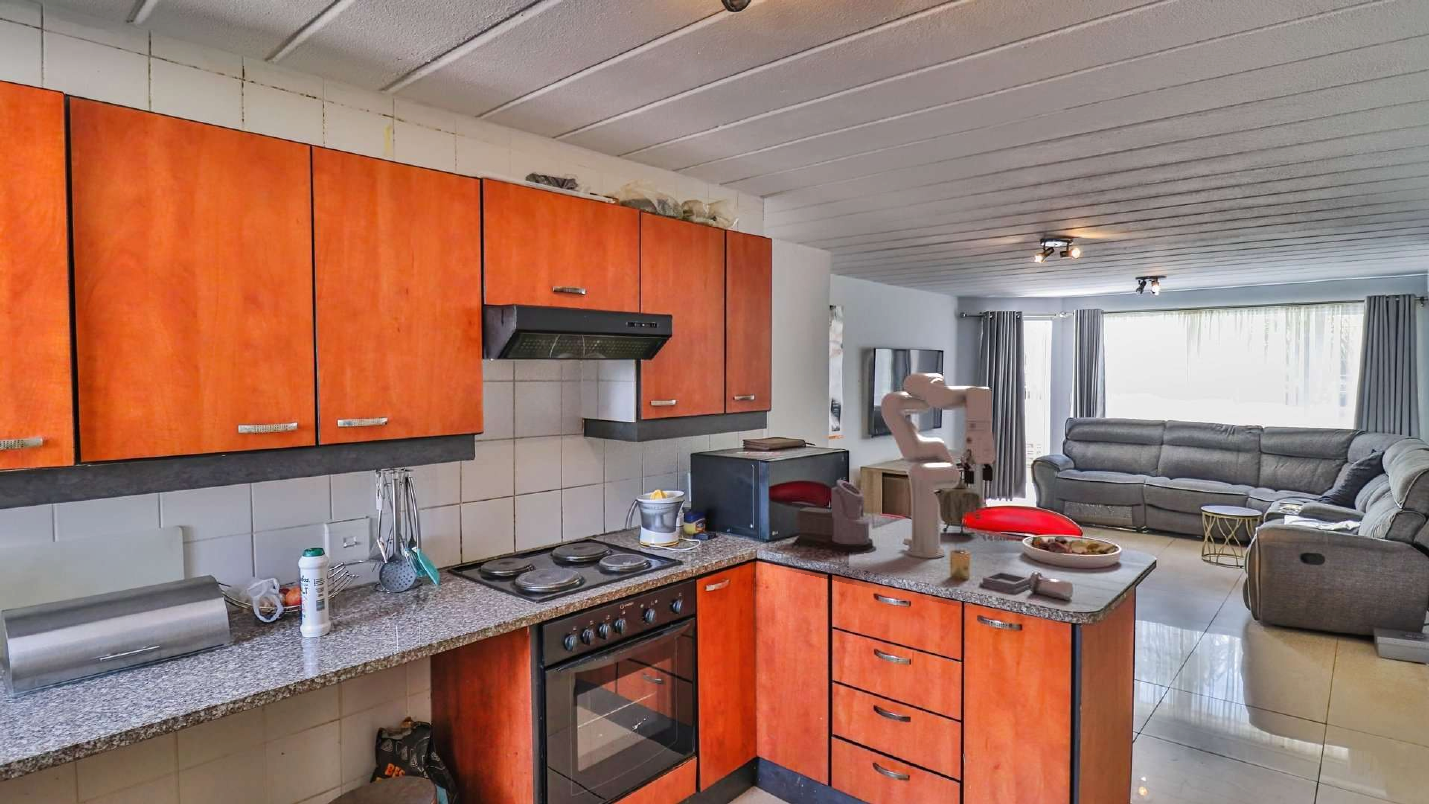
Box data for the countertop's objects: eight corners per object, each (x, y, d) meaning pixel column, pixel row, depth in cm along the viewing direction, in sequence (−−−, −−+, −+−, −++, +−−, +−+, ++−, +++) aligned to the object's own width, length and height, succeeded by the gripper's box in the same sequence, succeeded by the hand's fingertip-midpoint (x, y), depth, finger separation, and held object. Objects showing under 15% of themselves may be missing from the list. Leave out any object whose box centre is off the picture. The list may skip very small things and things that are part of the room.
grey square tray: (979, 586, 218) (979, 577, 218) (998, 578, 225) (998, 570, 225) (1015, 594, 209) (1015, 585, 209) (1034, 586, 216) (1034, 578, 216)
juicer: (882, 546, 269) (882, 479, 268) (867, 556, 255) (866, 485, 254) (807, 537, 285) (806, 474, 284) (788, 546, 271) (788, 479, 270)
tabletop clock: (976, 531, 291) (977, 468, 290) (983, 536, 282) (983, 471, 281) (939, 531, 292) (939, 468, 291) (944, 536, 283) (944, 471, 282)
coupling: (946, 578, 227) (946, 551, 226) (956, 574, 230) (956, 548, 230) (963, 581, 222) (963, 555, 222) (973, 578, 226) (973, 551, 226)
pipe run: (1028, 594, 209) (1028, 573, 209) (1038, 590, 213) (1038, 570, 213) (1064, 602, 201) (1064, 581, 201) (1073, 597, 205) (1073, 577, 205)
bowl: (1041, 544, 270) (1041, 523, 269) (1133, 558, 249) (1133, 534, 248) (1007, 560, 248) (1007, 537, 248) (1105, 576, 227) (1105, 551, 227)
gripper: (972, 428, 220) (972, 486, 220) (1005, 425, 230) (1005, 480, 231) (950, 427, 226) (951, 483, 226) (983, 424, 236) (983, 478, 237)
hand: (978, 482), depth 229 cm, fingers open, 9 cm apart
